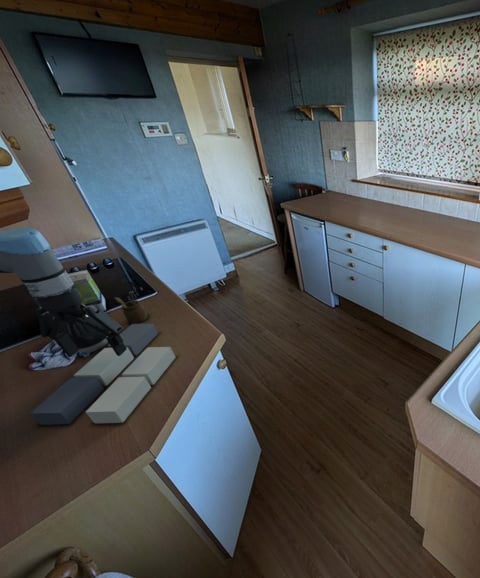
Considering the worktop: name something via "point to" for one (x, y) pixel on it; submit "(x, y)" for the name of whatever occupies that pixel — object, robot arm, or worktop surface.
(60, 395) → the grey book
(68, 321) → the robot arm
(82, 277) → the tea box
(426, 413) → the worktop surface
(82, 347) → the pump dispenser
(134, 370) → the white book
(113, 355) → the white book
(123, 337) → the grey book
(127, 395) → the white book
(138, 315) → the utensil holder
